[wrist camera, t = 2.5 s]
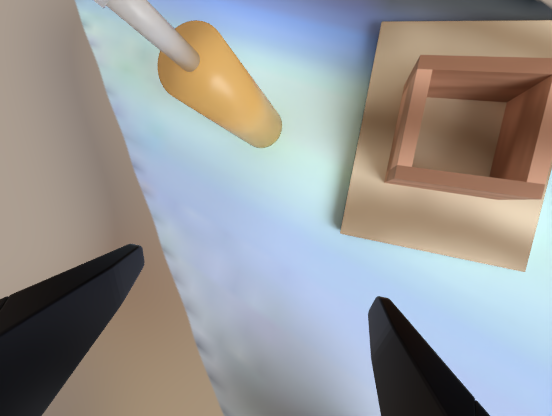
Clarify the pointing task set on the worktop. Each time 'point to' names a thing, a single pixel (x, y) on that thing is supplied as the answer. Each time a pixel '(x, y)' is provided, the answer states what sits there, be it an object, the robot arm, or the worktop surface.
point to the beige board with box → (455, 139)
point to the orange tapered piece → (204, 73)
